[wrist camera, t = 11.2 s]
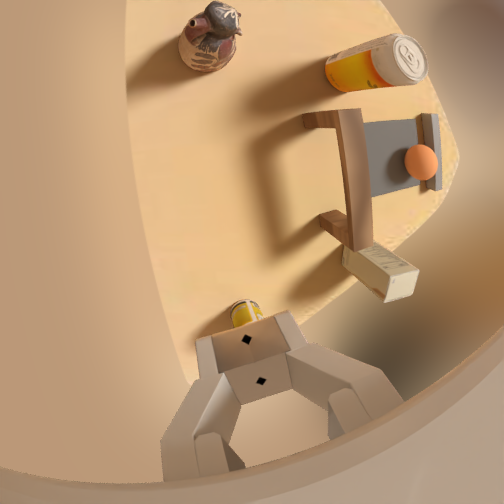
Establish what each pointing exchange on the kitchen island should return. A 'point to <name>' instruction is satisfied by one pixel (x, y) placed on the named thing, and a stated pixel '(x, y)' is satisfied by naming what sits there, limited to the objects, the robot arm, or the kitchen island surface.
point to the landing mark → (389, 154)
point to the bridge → (349, 178)
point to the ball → (421, 162)
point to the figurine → (210, 38)
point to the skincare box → (381, 271)
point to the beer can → (378, 64)
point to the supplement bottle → (245, 313)
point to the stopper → (433, 147)
